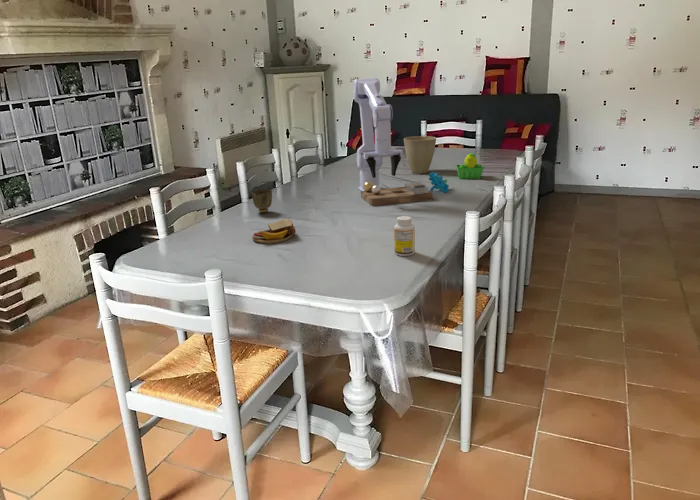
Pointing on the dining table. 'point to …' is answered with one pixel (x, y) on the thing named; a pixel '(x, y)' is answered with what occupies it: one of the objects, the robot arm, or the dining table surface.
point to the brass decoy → (368, 186)
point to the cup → (262, 200)
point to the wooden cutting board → (394, 196)
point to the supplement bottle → (404, 236)
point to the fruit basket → (470, 168)
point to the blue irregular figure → (438, 182)
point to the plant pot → (419, 152)
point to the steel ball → (376, 189)
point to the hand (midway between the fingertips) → (383, 176)
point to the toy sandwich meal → (276, 232)
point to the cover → (416, 188)
